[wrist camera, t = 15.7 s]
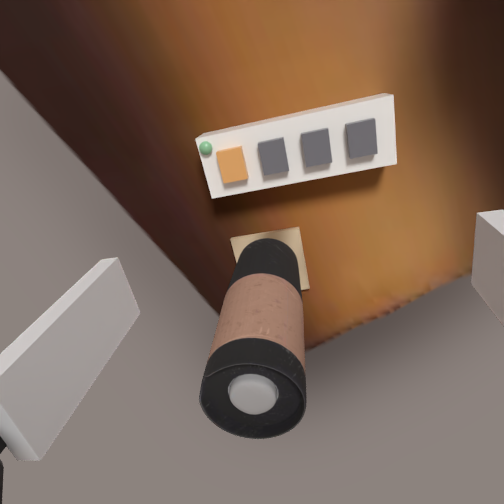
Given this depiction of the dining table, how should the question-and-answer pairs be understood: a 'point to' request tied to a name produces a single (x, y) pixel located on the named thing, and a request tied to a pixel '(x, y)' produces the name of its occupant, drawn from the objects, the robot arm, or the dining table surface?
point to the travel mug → (258, 347)
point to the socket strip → (300, 146)
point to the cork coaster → (285, 235)
